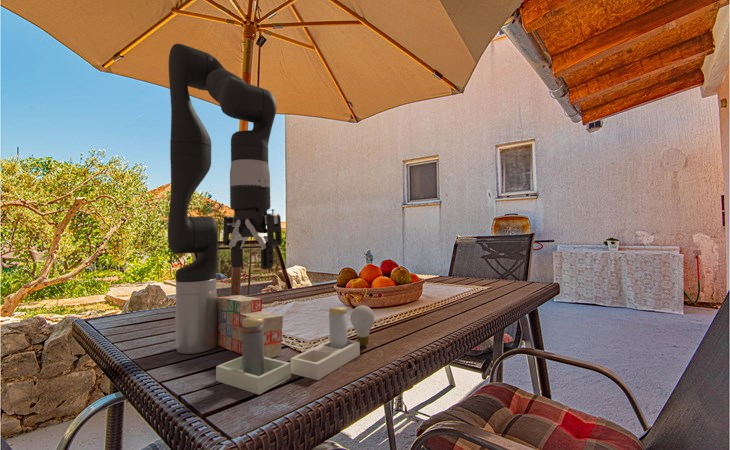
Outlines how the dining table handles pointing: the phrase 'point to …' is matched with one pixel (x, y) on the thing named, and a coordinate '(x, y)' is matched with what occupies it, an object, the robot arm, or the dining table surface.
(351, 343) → the tray
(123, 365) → the dining table surface
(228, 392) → the dining table surface
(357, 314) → the light bulb
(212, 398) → the dining table surface
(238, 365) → the parts tray
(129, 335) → the dining table surface
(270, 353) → the stack of blocks
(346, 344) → the fuse
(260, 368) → the cylinder
